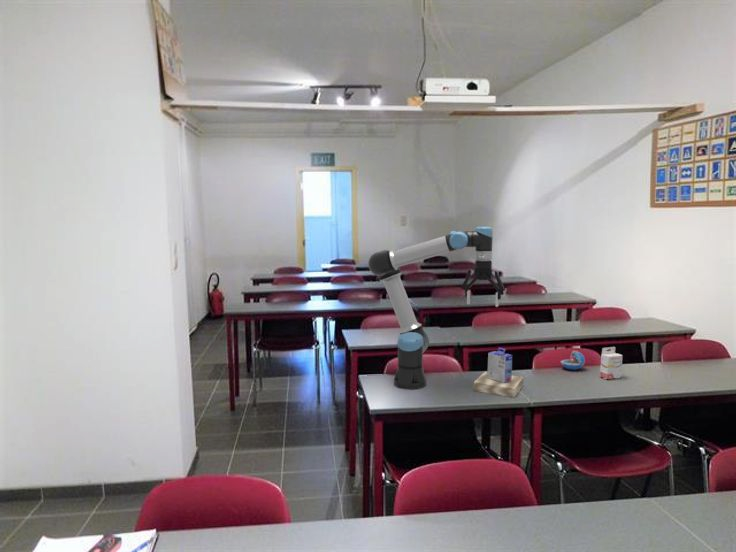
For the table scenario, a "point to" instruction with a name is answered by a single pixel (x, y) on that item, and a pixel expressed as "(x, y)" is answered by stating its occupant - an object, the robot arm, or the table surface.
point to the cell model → (574, 361)
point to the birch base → (498, 386)
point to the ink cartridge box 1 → (500, 366)
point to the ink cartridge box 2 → (610, 363)
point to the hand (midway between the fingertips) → (482, 305)
